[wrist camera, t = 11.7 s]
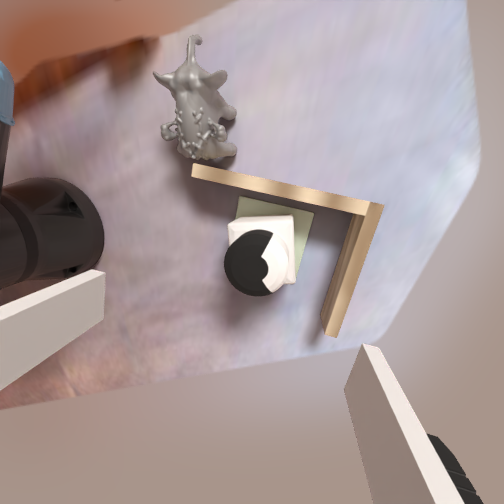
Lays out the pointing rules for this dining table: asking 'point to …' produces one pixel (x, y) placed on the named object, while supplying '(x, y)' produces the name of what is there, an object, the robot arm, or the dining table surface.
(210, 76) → the elephant statuette
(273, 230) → the medicine bottle
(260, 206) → the pad
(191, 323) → the dining table surface
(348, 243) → the corner arena
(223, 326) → the dining table surface
